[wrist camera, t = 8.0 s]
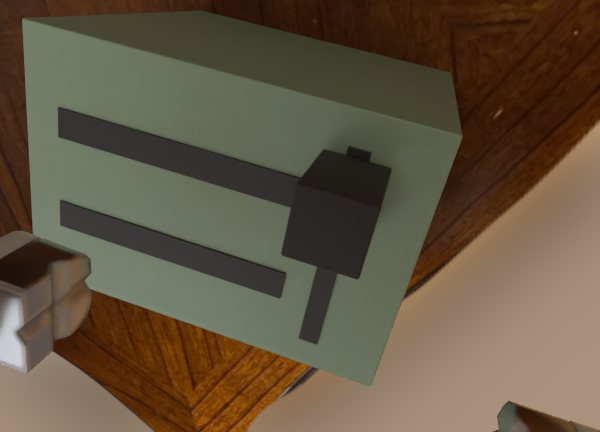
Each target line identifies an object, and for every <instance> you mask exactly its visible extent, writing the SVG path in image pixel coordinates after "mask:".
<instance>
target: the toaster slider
mask: <svg viewBox="0 0 600 432" xmlns="http://www.w3.org/2000/svg"><path fill="white" fill-rule="evenodd" d="M391 171H392V169H391V168H389V167H386V166H382V165H379V164H375V163H372V162H368V161H365V160H361V159H358V158H354V157H350V156H347V155H343V154H340V153H336V152H333V151H329V150H326V149H323V150H322V151H321V153H320V154H319V155H318V157H317V158H316V159H315V160H314V162H313V163H312V164H311V166H310V167H309V168H308V169H307V171H306V172H305V173H304V175H303V176H302V177H301V178H300V180H299V181H298V182H297V184H296V187H295V191H294V196H293V201H292V205H291V210H290V215H289V219H288V224H287V228H286V233H285V238H284V242H283V247H282V251H281V255H282V256H285V257H288V258H291V259H294V260H297V261H300V262H303V263H306V264H310V265H313V266H316V267H319V268H322V269H325V270H328V271H332V272H335V273H338V274H341V275H344V276H347V277H350V278H353V279H359V278H360V275H361V272H362V268H363V265H364V262H365V259H366V256H367V252H368V249H369V246H370V243H371V240H372V236H373V233H374V230H375V227H376V223H377V220H378V217H379V214H380V211H381V207H382V204H383V200H384V196H385V193H386V189H387V186H388V182H389V178H390V175H391Z"/></svg>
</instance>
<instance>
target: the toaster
mask: <svg viewBox="0 0 600 432" xmlns="http://www.w3.org/2000/svg"><path fill="white" fill-rule="evenodd" d="M22 25H23V44H24V64H25V84H26V104H27V123H28V143H29V163H30V183H31V202H32V222H33V235H35V236H38V237H40V238H42V239H43V238H44V239H47V240H49V241H52V242H55V243H57V244H60V245H63V246H65V247H68V248H71V249H73V250H76V251H79V252H81V253H84V254H86V255H87V256H88V257H89V258H90V259H91V274H90V275H89V276H88V277H87V278H86V279H85V282H86V284H87V285H88V287H89V289H92V290H95V291H98V292H101V293H104V294H107V295H109V296H112V297H115V298H118V299H121V300H124V301H127V302H129V303H132V304H135V305H138V306H141V307H144V308H147V309H149V310H152V311H155V312H158V313H161V314H164V315H167V316H169V317H172V318H175V319H178V320H181V321H184V322H186V323H189V324H192V325H195V326H198V327H201V328H204V329H206V330H209V331H212V332H215V333H218V334H221V335H224V336H226V337H229V338H232V339H235V340H238V341H241V342H244V343H246V344H249V345H252V346H255V347H258V348H261V349H264V350H266V351H269V352H272V353H275V354H278V355H281V356H284V357H286V358H289V359H292V360H295V361H298V362H301V363H304V364H306V365H309V366H312V367H315V368H318V369H321V370H323V371H327V372H329V373H332V374H335V375H338V376H341V377H343V378H346V379H349V380H352V381H355V382H358V383H361V384H363V385H366V386H371V384H372V382H373V379H374V376H375V374H376V371H377V368H378V365H379V363H380V360H381V357H382V355H383V352H384V349H385V346H386V344H387V341H388V338H389V335H390V333H391V330H392V327H393V325H394V322H395V319H396V316H397V314H398V311H399V308H400V306H401V303H402V300H403V298H404V295H405V292H406V289H407V287H408V284H409V281H410V278H411V276H412V273H413V270H414V268H415V265H416V262H417V259H418V257H419V254H420V251H421V249H422V246H423V243H424V240H425V238H426V235H427V232H428V230H429V227H430V224H431V221H432V219H433V216H434V213H435V210H436V208H437V205H438V202H439V200H440V197H441V194H442V191H443V189H444V186H445V183H446V181H447V178H448V175H449V172H450V170H451V167H452V164H453V162H454V159H455V156H456V153H457V151H458V148H459V145H460V142H461V140H462V131H461V125H460V119H459V114H458V108H457V102H456V96H455V90H454V84H453V78H452V73H450V72H446V71H442V70H438V69H434V68H430V67H426V66H422V65H418V64H414V63H410V62H406V61H402V60H398V59H394V58H390V57H386V56H382V55H378V54H374V53H370V52H366V51H362V50H358V49H354V48H350V47H346V46H342V45H338V44H334V43H330V42H326V41H322V40H318V39H314V38H310V37H306V36H302V35H298V34H294V33H290V32H286V31H282V30H278V29H274V28H270V27H266V26H262V25H258V24H254V23H250V22H246V21H242V20H238V19H234V18H230V17H225V16H221V15H217V14H213V13H209V12H205V11H181V12H158V13H135V14H111V15H88V16H65V17H42V18H23V19H22ZM323 149H326V150H329V151H333V152H336V153H340V154H343V155H347V156H350V157H354V158H358V159H361V160H365V161H368V162H372V163H375V164H379V165H382V166H386V167H389V168H391V169H392V171H391V175H390V178H389V182H388V186H387V189H386V193H385V196H384V200H383V204H382V207H381V211H380V214H379V217H378V220H377V223H376V227H375V230H374V233H373V236H372V240H371V243H370V246H369V249H368V252H367V256H366V259H365V262H364V265H363V268H362V272H361V275H360V278H359V279H353V278H350V277H347V276H344V275H341V274H338V273H335V272H332V271H328V270H325V269H322V268H319V267H316V266H313V265H310V264H306V263H303V262H300V261H297V260H294V259H291V258H288V257H285V256H282V255H281V251H282V247H283V242H284V238H285V233H286V228H287V224H288V219H289V215H290V210H291V205H292V201H293V196H294V191H295V187H296V184H297V182H298V181H299V180H300V178H301V177H302V176H303V175H304V173H305V172H306V171H307V169H308V168H309V167H310V166H311V164H312V163H313V162H314V160H315V159H316V158H317V157H318V155H319V154H320V153H321V151H322V150H323Z"/></svg>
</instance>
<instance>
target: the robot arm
mask: <svg viewBox="0 0 600 432" xmlns="http://www.w3.org/2000/svg"><path fill="white" fill-rule="evenodd" d="M90 274H91V259H90V258H89V257H88V256H87V255H86V254H84V253H81V252H79V251H76V250H73V249H71V248H68V247H65V246H63V245H60V244H57V243H55V242H52V241H49V240H47V239H44V238H43V239H42V238H40V237H38V236H35V235H32V234H29V233H27V232H24V231H13V232H11V233H9V234H7V235H5V236H3V237H1V238H0V364H2V365H6V366H8V367H11V368H14V369H16V370H19V371H22V372H25V373H28V372H29V371H30V370H31V369H32V368H34V367H35V366H36V365H37V364H38V363H39V362H41V361H42V360H43V359H44V358H45V357H46V356H47V355H49V354H50V353H51V352H52V351H53V348H54V340H57V339H61V338H64V337H67V336H70V335H71V334H72V333H73V332H74V331H75V330H76V329H77V328H79V327H80V325H81V324H82V322H83V320H84V319H85V317H86V315H87V314H88V311H89V307H90V303H91V291H90V289H89V287H88V285H87V284H86V282H85V279H86V278H87V277H88V276H89V275H90ZM497 417H498V427H499V430H496V431H494V432H600V430H597V429H594V428H591V427H588V426H584V425H581V424H578V423H575V422H572V421H566V420H564V419H561V418H558V417H555V416H552V415H549V414H546V413H543V412H540V411H537V410H534V409H531V408H528V407H525V406H522V405H519V404H517V403H513V402H511V401H508V402H507V403H506V404H505V405H504V406H503V407H502V409H501V411H500V412H499V414H498V416H497Z"/></svg>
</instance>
